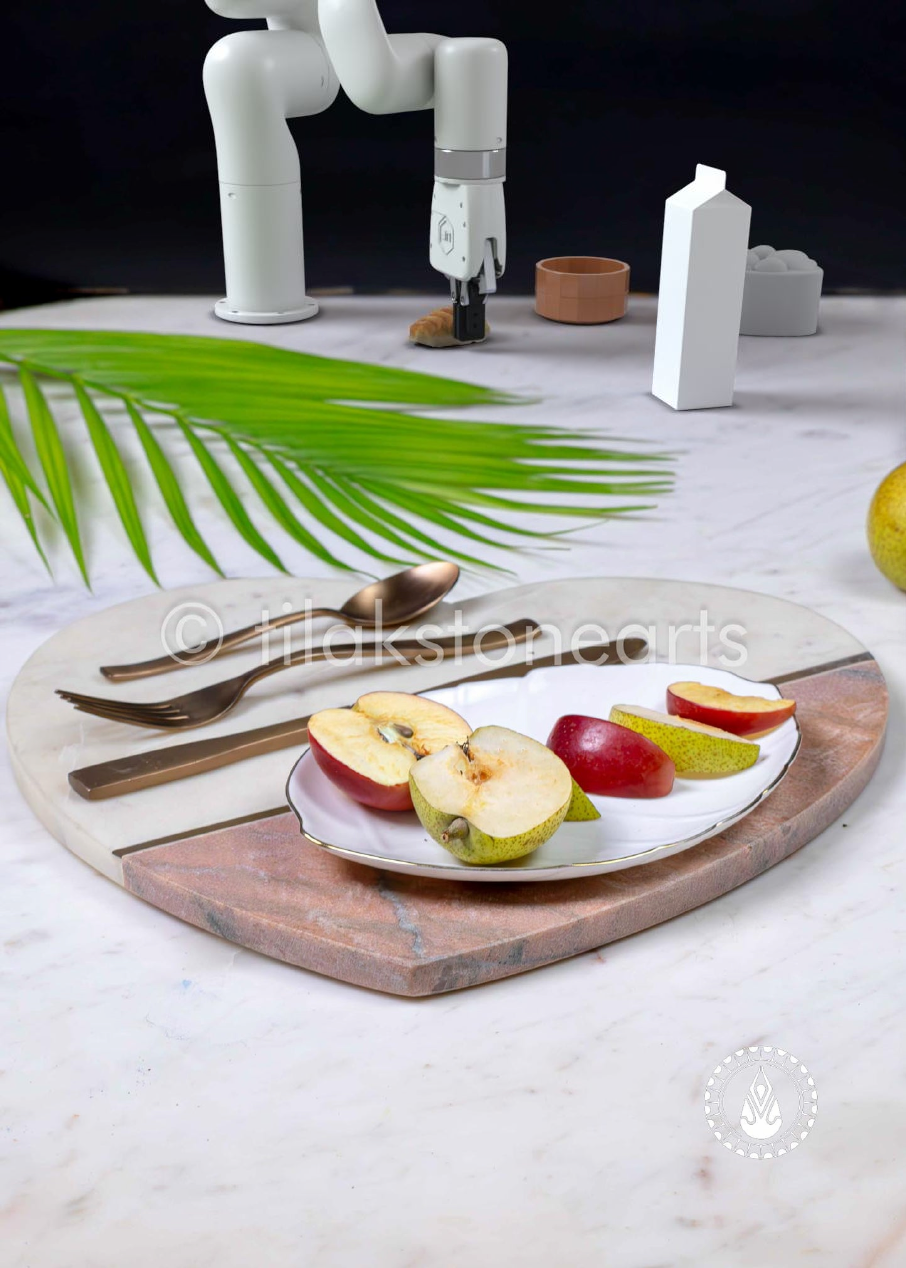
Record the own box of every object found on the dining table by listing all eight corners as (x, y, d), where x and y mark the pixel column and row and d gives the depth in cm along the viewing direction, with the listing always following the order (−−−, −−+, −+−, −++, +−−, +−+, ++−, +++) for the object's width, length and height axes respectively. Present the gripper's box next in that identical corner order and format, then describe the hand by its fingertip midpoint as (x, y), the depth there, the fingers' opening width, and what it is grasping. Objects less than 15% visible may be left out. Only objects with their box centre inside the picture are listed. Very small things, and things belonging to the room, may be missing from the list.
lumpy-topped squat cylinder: (820, 337, 158) (829, 261, 154) (707, 334, 159) (714, 258, 155) (805, 316, 167) (814, 244, 163) (698, 313, 168) (705, 242, 164)
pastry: (434, 353, 150) (433, 318, 148) (394, 342, 154) (393, 308, 153) (495, 339, 156) (495, 306, 154) (455, 329, 160) (455, 296, 158)
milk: (676, 411, 131) (694, 173, 121) (650, 394, 137) (666, 164, 127) (733, 406, 133) (756, 170, 123) (706, 389, 138) (725, 161, 128)
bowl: (518, 309, 169) (520, 260, 167) (596, 301, 174) (599, 253, 171) (562, 329, 160) (565, 278, 158) (643, 320, 164) (647, 270, 162)
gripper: (409, 159, 147) (410, 327, 156) (469, 176, 135) (467, 358, 143) (471, 156, 150) (469, 321, 158) (535, 172, 138) (530, 350, 146)
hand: (468, 338), depth 151 cm, fingers closed
